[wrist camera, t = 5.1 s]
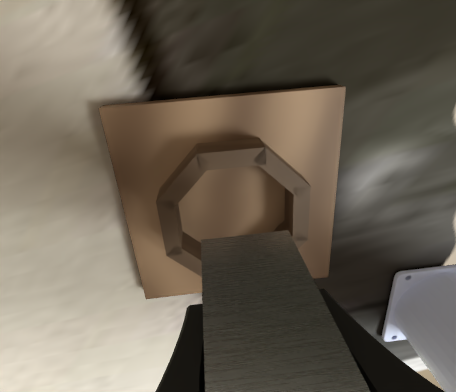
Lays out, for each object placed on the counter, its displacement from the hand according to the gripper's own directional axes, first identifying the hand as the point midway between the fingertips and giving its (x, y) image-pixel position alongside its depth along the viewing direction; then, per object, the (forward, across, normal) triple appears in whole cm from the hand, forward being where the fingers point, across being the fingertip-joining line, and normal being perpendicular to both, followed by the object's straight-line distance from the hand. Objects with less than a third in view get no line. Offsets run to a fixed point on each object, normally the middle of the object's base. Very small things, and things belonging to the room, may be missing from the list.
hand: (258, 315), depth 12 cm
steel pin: (+3, 0, 0) cm, 3 cm away
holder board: (+10, 0, 0) cm, 10 cm away
